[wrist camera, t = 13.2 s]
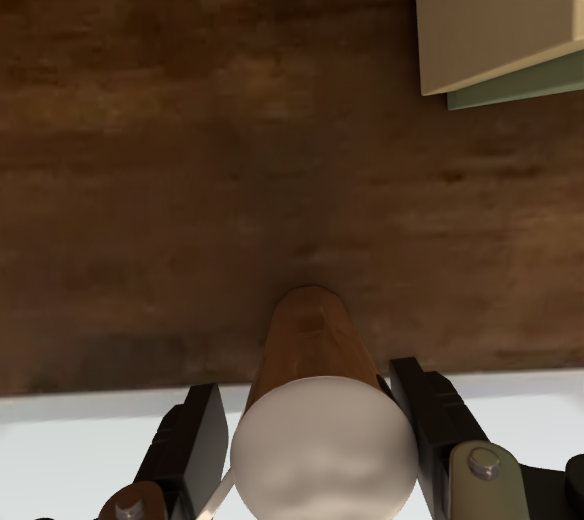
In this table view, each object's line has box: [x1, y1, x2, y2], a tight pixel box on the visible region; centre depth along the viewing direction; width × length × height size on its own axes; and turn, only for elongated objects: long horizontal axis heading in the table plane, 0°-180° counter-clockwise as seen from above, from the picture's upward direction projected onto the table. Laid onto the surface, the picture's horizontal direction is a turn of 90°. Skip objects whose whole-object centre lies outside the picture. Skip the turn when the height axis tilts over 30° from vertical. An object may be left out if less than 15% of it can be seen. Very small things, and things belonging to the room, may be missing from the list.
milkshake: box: [195, 285, 419, 520], centre depth 12 cm, size 5×5×10 cm
